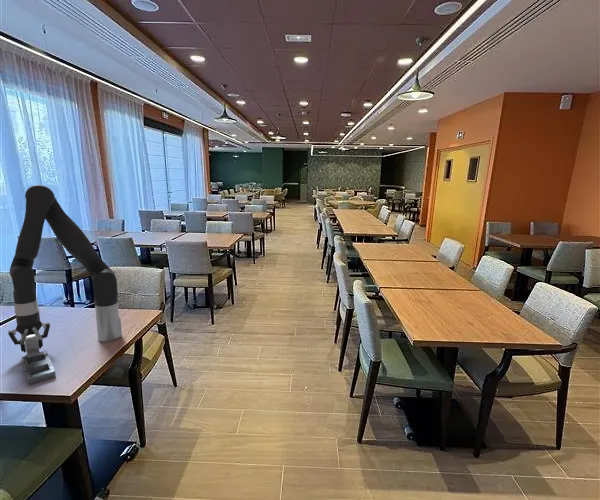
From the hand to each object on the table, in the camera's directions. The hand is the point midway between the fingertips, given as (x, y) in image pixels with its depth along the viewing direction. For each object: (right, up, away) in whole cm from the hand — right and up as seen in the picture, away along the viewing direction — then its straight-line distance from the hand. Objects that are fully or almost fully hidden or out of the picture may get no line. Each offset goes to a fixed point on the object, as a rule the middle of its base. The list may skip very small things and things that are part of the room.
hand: (32, 349), depth 139 cm
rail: (+11, -5, -10) cm, 16 cm away
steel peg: (0, -2, 0) cm, 2 cm away
